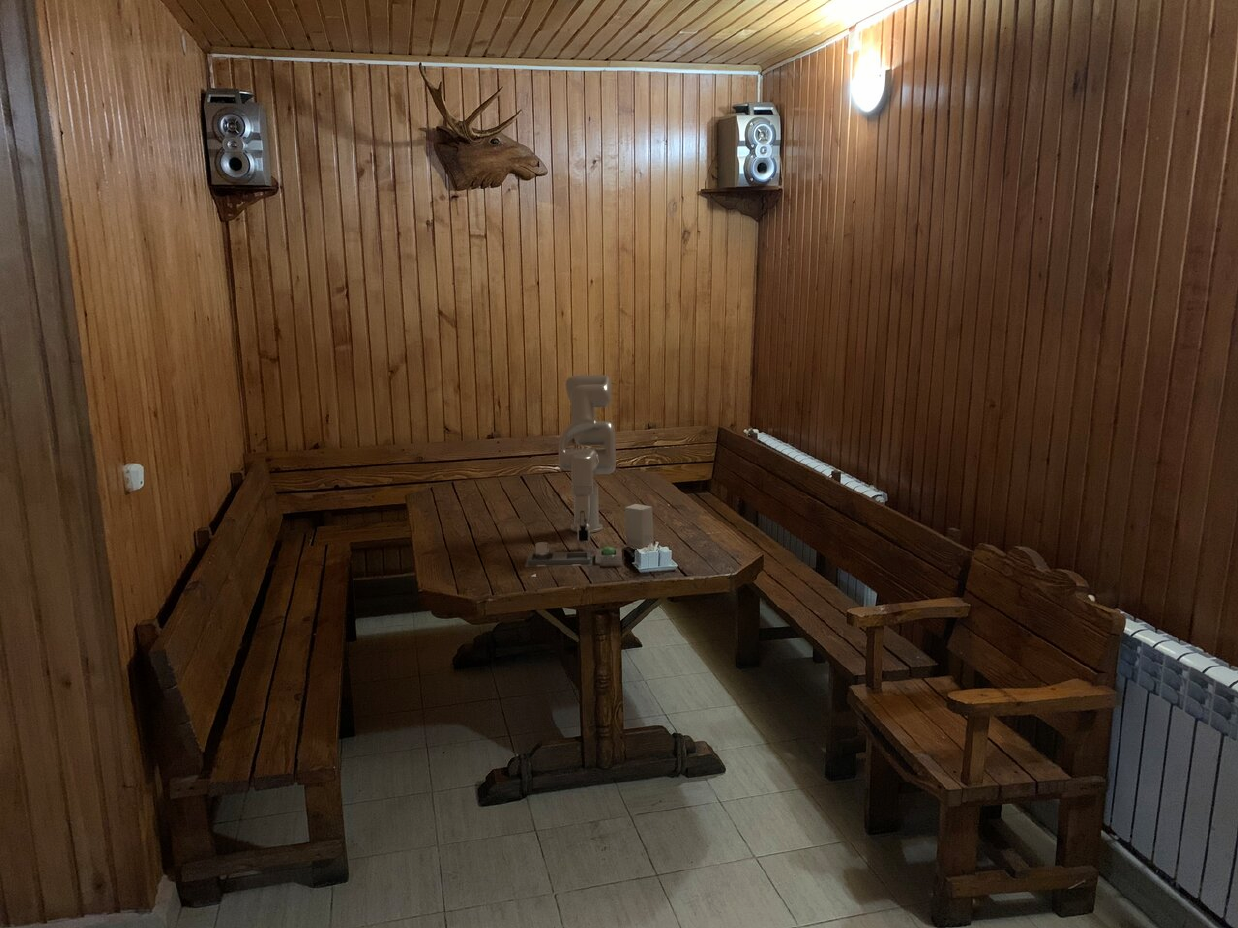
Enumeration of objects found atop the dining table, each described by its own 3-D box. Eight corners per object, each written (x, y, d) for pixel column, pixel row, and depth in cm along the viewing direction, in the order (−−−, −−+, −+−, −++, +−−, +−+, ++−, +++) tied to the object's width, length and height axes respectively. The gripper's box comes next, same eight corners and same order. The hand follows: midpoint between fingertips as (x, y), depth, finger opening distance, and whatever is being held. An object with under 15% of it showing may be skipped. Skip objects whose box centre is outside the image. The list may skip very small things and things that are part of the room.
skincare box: (654, 547, 327) (653, 506, 324) (642, 552, 322) (641, 510, 319) (636, 543, 332) (636, 502, 329) (624, 547, 328) (624, 506, 324)
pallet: (528, 557, 318) (528, 550, 317) (593, 556, 318) (593, 549, 317) (524, 569, 305) (524, 562, 305) (592, 568, 305) (592, 561, 305)
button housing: (596, 558, 316) (596, 548, 315) (621, 557, 316) (621, 548, 315) (595, 566, 307) (595, 556, 306) (621, 566, 307) (621, 556, 306)
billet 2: (577, 538, 325) (577, 522, 323) (590, 538, 325) (589, 522, 323) (577, 542, 320) (576, 526, 319) (589, 542, 320) (589, 526, 319)
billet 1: (536, 558, 314) (535, 542, 312) (549, 558, 314) (548, 541, 312) (535, 562, 309) (534, 545, 308) (548, 562, 309) (547, 545, 308)
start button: (603, 554, 313) (602, 546, 313) (614, 554, 313) (614, 546, 313) (602, 558, 309) (602, 550, 309) (614, 558, 309) (614, 549, 309)
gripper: (572, 483, 326) (574, 530, 330) (570, 496, 310) (572, 546, 314) (593, 482, 326) (594, 530, 330) (592, 495, 310) (593, 545, 314)
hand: (583, 537), depth 322 cm, fingers closed on billet 2, 4 cm apart
